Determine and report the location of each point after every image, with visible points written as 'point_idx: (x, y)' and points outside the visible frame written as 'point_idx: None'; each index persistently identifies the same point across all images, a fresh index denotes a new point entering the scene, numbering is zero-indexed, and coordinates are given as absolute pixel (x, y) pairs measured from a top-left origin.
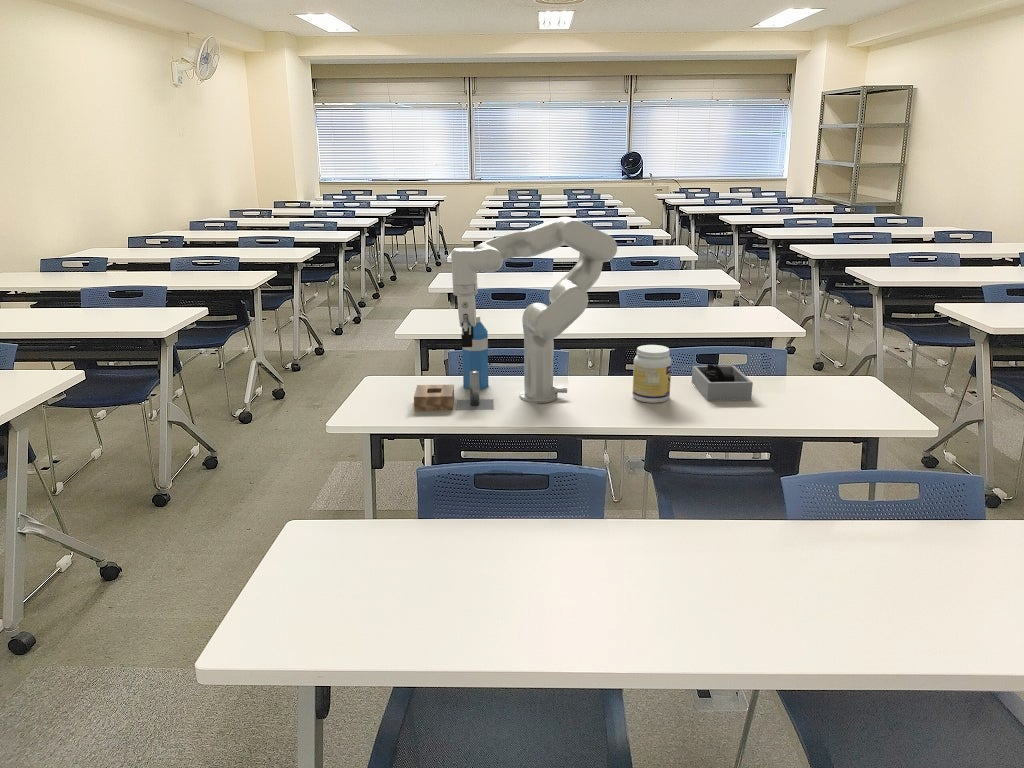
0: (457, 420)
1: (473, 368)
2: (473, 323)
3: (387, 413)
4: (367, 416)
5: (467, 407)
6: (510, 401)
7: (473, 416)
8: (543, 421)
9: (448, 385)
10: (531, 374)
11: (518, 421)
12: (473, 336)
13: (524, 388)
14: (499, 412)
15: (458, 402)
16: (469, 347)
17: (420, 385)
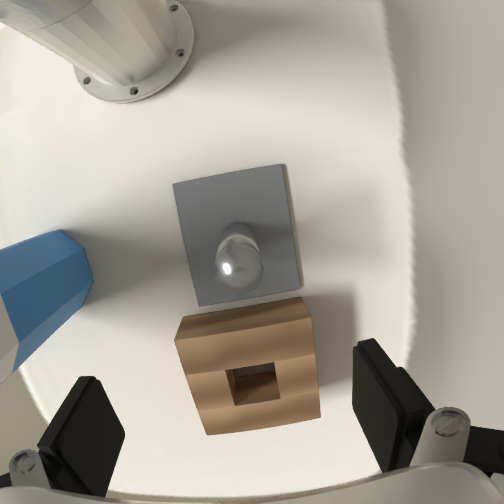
0: (374, 263)
1: (53, 297)
2: (499, 492)
3: (322, 434)
4: (340, 455)
5: (271, 256)
6: (177, 123)
7: (340, 222)
8: (349, 17)
9: (188, 355)
10: (150, 15)
11: (363, 80)
12: (86, 385)
13: (128, 76)
14: (294, 142)
15: (225, 296)
16: (10, 351)
17: (209, 427)
